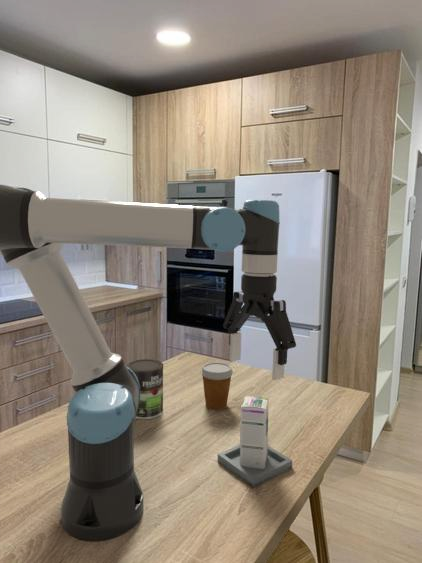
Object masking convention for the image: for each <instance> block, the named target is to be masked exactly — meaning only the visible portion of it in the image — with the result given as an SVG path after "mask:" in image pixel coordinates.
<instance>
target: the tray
mask: <svg viewBox="0 0 422 563" xmlns="http://www.w3.org/2000/svg"><path fill="white" fill-rule="evenodd" d="M217 462H218V463H219V464H221V465H222V467H224V468H226V469H228V470H229V471H230V472H232V473H233V474H235V476H236V477H238V478H239V479H240V480H242V481H244V482H245V483H246V484H248V485H249V486H251V487H252V488H253V489H254V488H256V487H258V486H260V485H262V484H264V483H265V482H268V481H269V480H271V479H273V478H275V477H277V476H279V475H281V474H283V473H285V472H286V471H288V470H290V469H293V459H291V458H290V457H287V456H286V455H284V454H283V453H281V452H279V451H277V449H274V448H273V447H271V446H269V445H268V453H267V461H266V466H265V469H264V470H263V469H255V468H248V467H243V466H240V444H238V445H236V446H234V447H231V448H229V449H227V450H225V451H221V452H220V453H217Z"/></svg>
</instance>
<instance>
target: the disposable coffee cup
mask: <svg viewBox="0 0 422 563" xmlns="http://www.w3.org/2000/svg"><path fill="white" fill-rule="evenodd" d="M200 373H201V376H202V381H203V384H202V385H203V392H204V399H205V400H204V401H205V406H206V408H207V409H209V410H214V411H220V410H224V409H226V408H227V406H228V400H229V399H228V398H229V392H230V386H231V380H232V376H233V374H234V370H233V369H232V366H231V365H230V364H227V363H225V362H208V363H205V364H203V365H202V369H201V370H200Z"/></svg>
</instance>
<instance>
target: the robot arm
mask: <svg viewBox="0 0 422 563" xmlns="http://www.w3.org/2000/svg"><path fill="white" fill-rule="evenodd" d="M280 225H281V223H280V205H279V203H278V202H277V201H276V200H269V199H268V200H267V199H266V200H265V199H247V200H245V201H244V202H243V206H242V208H239V209H234V208H231V207H229V206H201V205H197V206H196V205H195V206H194V205H182V204H180V205H179V204H167V203H166V204H165V203H163V204H162V203H147V202H145V203H144V202H130V201H129V202H128V201H127V202H126V201H111V200H107V201H106V200H92V199H90V200H89V199H75V198H74V199H70V198H55V197H54V198H53V197H46V196H45V195H44V194H43V193H42V192H41V191H38V190H33V189H30V188H26V187H14V186H9V185H5V184H0V253H1V256H2V257H3V259H4V261H5V263H6V265H7V266H10V267H13V268H16V269H18V270H19V271H20V274H21V275H22V277H23V280H24V281H25V283H26V284H27V287H28V289H29V291H30V292H31V294H32V296H33V298H34V300H35V302H36V303H37V306H38V307H39V311H41V313H42V315H43V317H44V319H45V321H46V323H47V325H48V326H49V328H50V331H51V332H52V334H53V336H54V338H55V339H56V341H57V344H58V345H59V348H60V349H61V351H62V353H63V355H64V356H65V359H66V361H67V363H68V364H69V366H70V369H71V370H72V377H71V378H70V385H71V386H72V389H73V391H74V394H73V395H72V396H71V398H70V400H69V402H68V405H67V412H66V425H67V433H68V435H67V438H68V440H67V441H68V463H69V464H68V465H69V481H68V484H67V486H66V490H65V493H64V496H63V500H62V503H61V509H60V515H61V516H60V517H61V525H62V528H63V530H64V531H66V533H67V534H69V535H70V536H71V537H74V538H75V539H79V540H82V541H90V542H93V541H95V542H97V541H104V540H105V541H106V540H109V539H113V538H116V537H119V536H120V535H122V534H124V533H126V532H128V531H129V530H130V529H132V528H133V527H134V526H135V525H136V524H137V523H138V522H139V521H140V519H141V517H142V516H143V512H144V503H145V502H144V493H143V490H142V487H141V485H140V482H139V479H138V476H137V475H136V472H135V464H134V463H135V462H134V461H135V460H134V459H135V458H134V457H135V454H134V453H135V450H134V448H135V447H134V446H135V444H134V437H135V436H134V432H135V423H136V420H137V419H136V414H137V409H138V404H139V401H140V385H139V381H138V379H137V376H136V375H135V373H134V372H133V371H132V370H131V369H130V368H128V367H127V365H126V363H125V362H124V359H123V357H122V356H121V354H118V353H115V352H112V351H111V350H110V348H109V345H108V344H107V342H106V339H105V338H104V335H103V334H102V332H101V330H100V328H99V326H98V324H97V321H96V320H95V318H94V316H93V314H92V312H91V310H90V308H89V306H88V304H87V302H86V301H85V300H86V299H85V298H84V296H83V295H82V291H80V288H79V286H78V284H77V281H76V280H75V278H74V276H73V274H72V272H71V271H70V269H69V266H68V264H67V262H66V260H65V258H64V257H63V255H62V254H63V253H62V252H61V249H62V246H63V244H73V245H75V244H78V245H101V246H102V245H104V246H126V247H148V248H149V247H150V248H151V247H152V248H175V249H193V250H195V249H196V250H213V251H215V252H218V253H219V252H222V253H224V252H229V251H232V250H234V249H236V248H237V247H238V246H242V247H241V248H242V253H241V255H242V256H241V270H240V271H241V272H242V275H241V278H240V279H241V281H240V283H241V284H240V289H241V290H240V291H234V292H233V294H232V302H231V304H230V307H229V308H228V311H227V314H226V317H225V319H224V322H223V325H222V326H223V329H227V331H228V334H229V336H228V337H229V338H228V339H229V340H228V344H229V362H237V361H241V360H242V359H241V358H242V356H241V355H242V332H241V331H242V330H241V329H242V327H243V326H244V325H245V323H246V322H247V321H248V320H249V318H250V317H255V318H258V319H260V320H261V322H263V323H264V325H265V327H266V328H267V330H268V333H269V335H270V337H271V338H272V341H273V344H274V345H275V347H276V348H274V349H273V352H272V355H273V356H272V376H271V380H273V381H277V380H280V379H283V378H285V365H287V361H288V350H290V349H293V348H296V347H297V343H296V339H295V335H294V333H293V329H292V327H291V322H290V320H289V316H288V312H287V304H286V303H287V302H286V300H284V299H281V300H275V298H274V295H275V293H276V292H277V280H278V279H277V277H278V276H276V273H277V272H278V254H279V253H278V248H279V233H280V232H279V231H280Z"/></svg>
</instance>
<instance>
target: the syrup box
mask: <svg viewBox="0 0 422 563" xmlns="http://www.w3.org/2000/svg"><path fill="white" fill-rule="evenodd" d="M269 404H270V403H269V399H268V398H266V397H261V396H244V398H243V400H242V402H241V405H240V425H239V426H240V428H239V430H240V431H239V432H240V433H239V434H240V435H239V436H240V437H239V441H240V442H239V445H240V466H243V467H248V468H255V469H263V470H264V469H265V466H266V461H267V453H268V446H269V444H268V443H269V442H268V441H269Z"/></svg>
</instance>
